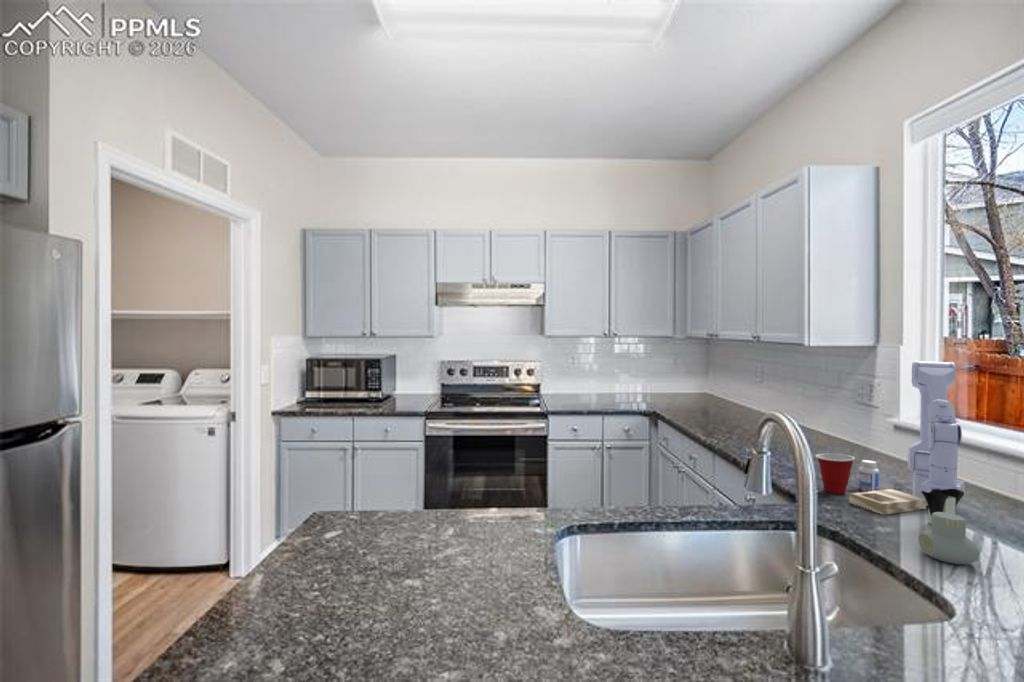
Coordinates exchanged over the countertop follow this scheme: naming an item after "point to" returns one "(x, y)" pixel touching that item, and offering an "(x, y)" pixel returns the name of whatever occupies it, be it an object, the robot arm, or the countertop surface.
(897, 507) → the socket rail
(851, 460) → the plastic cup
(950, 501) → the square peg
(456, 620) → the countertop surface
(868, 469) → the pill bottle
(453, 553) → the countertop surface
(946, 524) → the air freshener
